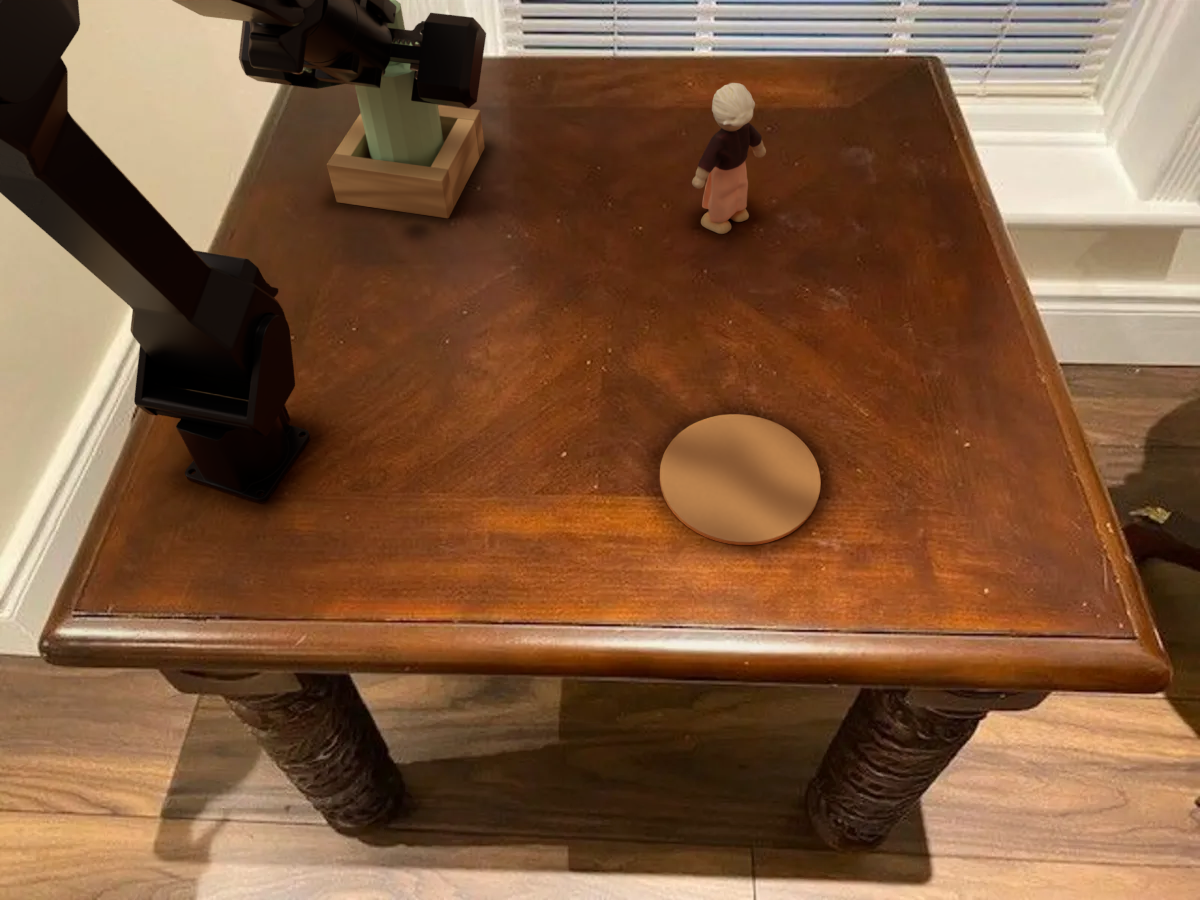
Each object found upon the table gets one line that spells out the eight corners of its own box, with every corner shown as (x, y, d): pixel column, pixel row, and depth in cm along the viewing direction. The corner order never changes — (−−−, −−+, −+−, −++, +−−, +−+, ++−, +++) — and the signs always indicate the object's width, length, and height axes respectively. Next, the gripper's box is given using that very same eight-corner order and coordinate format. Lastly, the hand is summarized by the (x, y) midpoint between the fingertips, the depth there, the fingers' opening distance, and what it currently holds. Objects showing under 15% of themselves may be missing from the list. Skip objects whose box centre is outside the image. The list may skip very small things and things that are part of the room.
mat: (798, 565, 67) (799, 562, 67) (637, 517, 69) (637, 514, 69) (835, 441, 73) (836, 437, 73) (687, 401, 76) (687, 397, 75)
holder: (448, 218, 89) (442, 180, 86) (336, 202, 91) (326, 164, 88) (485, 147, 95) (480, 109, 92) (379, 133, 97) (371, 96, 94)
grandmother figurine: (728, 189, 91) (741, 57, 81) (765, 206, 89) (782, 74, 79) (676, 234, 87) (682, 102, 77) (713, 253, 86) (725, 120, 76)
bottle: (425, 187, 89) (397, 35, 78) (359, 172, 91) (323, 21, 80) (457, 145, 93) (435, -5, 82) (393, 131, 94) (364, -18, 83)
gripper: (462, -89, 69) (521, -10, 85) (209, -113, 72) (310, -33, 88) (439, 81, 71) (502, 129, 86) (192, 50, 74) (295, 102, 89)
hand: (401, 78), depth 87 cm, fingers closed on bottle, 6 cm apart
